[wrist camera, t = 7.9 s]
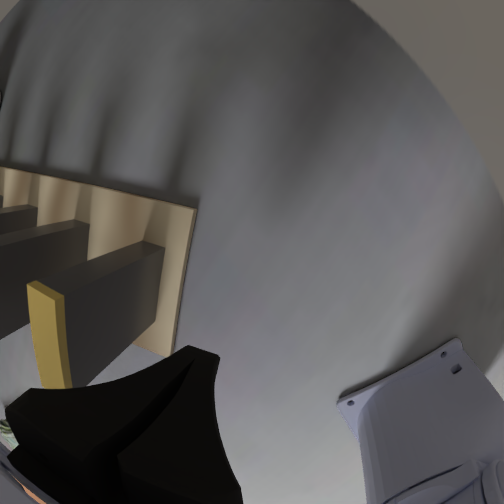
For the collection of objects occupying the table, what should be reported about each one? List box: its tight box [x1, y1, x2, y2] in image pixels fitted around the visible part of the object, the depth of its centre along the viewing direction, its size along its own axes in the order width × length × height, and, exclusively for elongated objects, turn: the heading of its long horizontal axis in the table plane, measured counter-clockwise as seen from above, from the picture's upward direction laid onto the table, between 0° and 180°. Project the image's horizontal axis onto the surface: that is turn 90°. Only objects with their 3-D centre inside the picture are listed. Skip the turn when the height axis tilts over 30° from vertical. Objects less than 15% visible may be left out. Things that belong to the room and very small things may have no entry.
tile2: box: [0, 219, 90, 340], centre depth 14 cm, size 2×5×9 cm, turn 167°
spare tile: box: [27, 240, 165, 389], centre depth 13 cm, size 2×5×9 cm, turn 166°
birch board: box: [0, 166, 197, 357], centre depth 19 cm, size 34×10×1 cm, turn 77°
